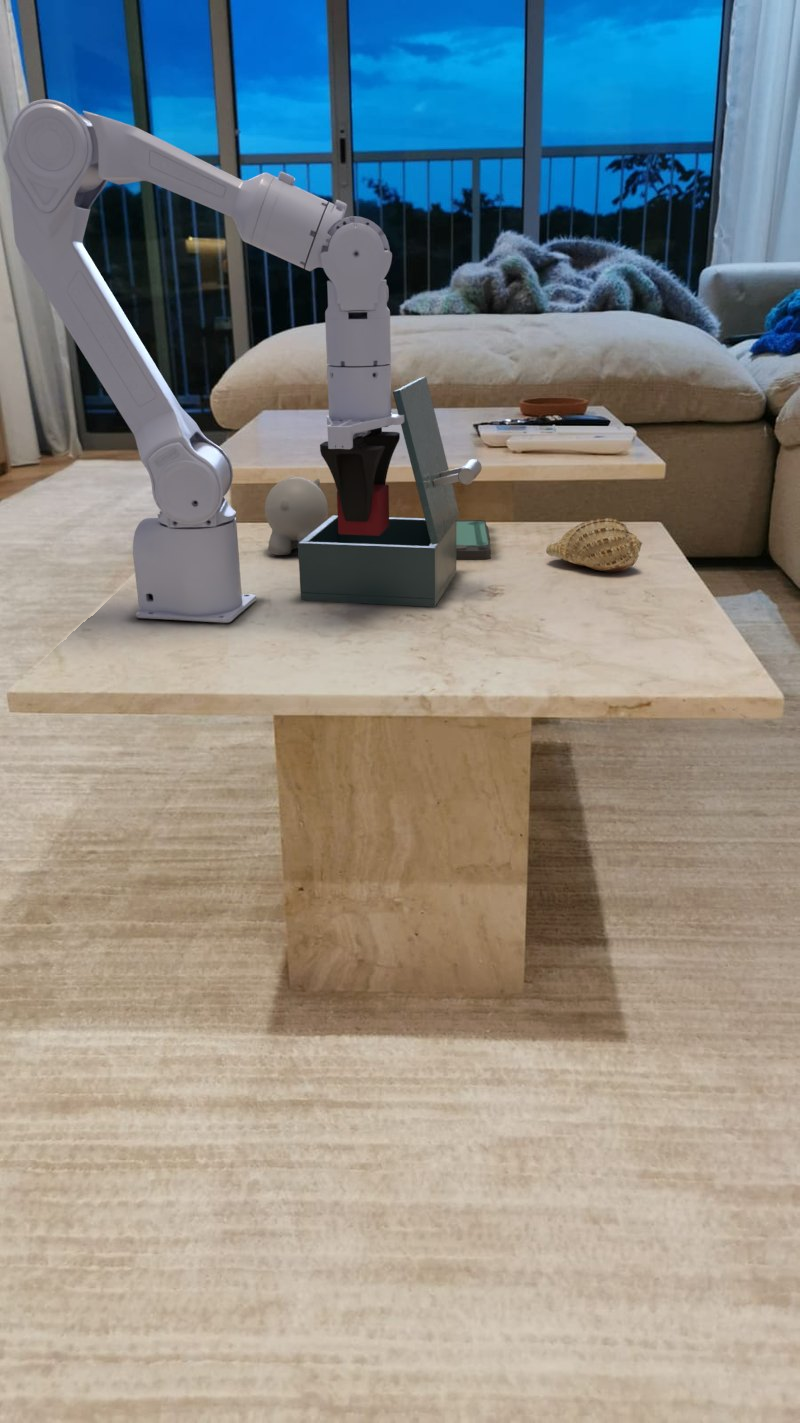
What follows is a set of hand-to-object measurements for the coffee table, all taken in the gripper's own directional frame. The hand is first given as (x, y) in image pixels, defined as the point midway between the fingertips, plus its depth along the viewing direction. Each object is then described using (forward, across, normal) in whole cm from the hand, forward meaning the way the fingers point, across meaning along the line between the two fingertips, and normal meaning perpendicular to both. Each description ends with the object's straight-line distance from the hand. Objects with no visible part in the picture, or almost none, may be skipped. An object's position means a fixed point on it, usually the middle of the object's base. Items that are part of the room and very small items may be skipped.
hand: (362, 515), depth 101 cm
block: (+1, 0, 0) cm, 1 cm away
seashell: (+9, +18, -21) cm, 29 cm away
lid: (-4, +7, -5) cm, 9 cm away
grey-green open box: (+9, +7, 0) cm, 11 cm away
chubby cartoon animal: (+9, +22, +13) cm, 27 cm away
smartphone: (+9, +26, -5) cm, 28 cm away
